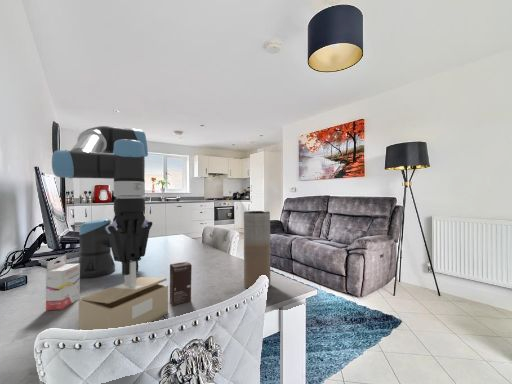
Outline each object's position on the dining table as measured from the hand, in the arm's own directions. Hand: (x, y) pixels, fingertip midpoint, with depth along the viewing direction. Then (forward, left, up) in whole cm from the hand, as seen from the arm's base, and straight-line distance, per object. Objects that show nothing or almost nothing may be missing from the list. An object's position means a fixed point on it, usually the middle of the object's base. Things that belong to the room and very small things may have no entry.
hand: (130, 285), depth 66 cm
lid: (-2, 0, -1) cm, 2 cm away
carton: (-2, 0, -10) cm, 10 cm away
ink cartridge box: (-30, -2, -10) cm, 32 cm away
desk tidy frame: (-84, +26, -10) cm, 89 cm away
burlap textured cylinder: (+18, +39, -10) cm, 44 cm away
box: (+2, +16, -10) cm, 19 cm away
